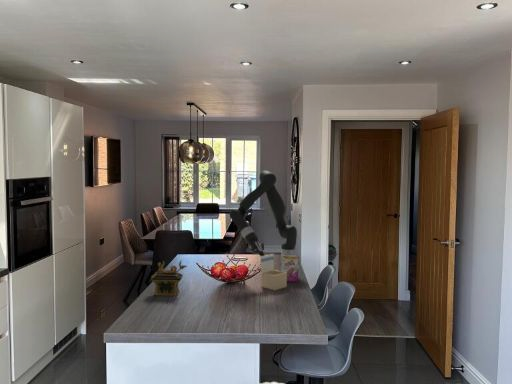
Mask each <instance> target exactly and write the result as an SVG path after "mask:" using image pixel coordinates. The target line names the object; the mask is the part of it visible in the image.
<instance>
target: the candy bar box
mask: <svg viewBox="0 0 512 384" xmlns="http://www.w3.org/2000/svg"><path fill="white" fill-rule="evenodd" d="M299 264H300V256H299V255H296V254H295V255H282V264H281V263H280V271H282V272H287V282H293V283H298V282H299V271H300V270H299Z"/></svg>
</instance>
